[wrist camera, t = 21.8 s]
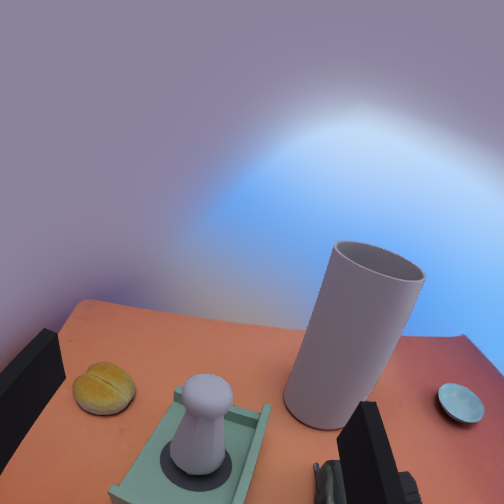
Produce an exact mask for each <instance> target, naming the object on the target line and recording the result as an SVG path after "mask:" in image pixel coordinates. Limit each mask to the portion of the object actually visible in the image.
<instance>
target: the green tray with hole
mask: <svg viewBox="0 0 504 504" xmlns="http://www.w3.org/2000/svg"><path fill="white" fill-rule="evenodd" d="M182 388H183V387H180V386H177V388H176V389H175V391H174V401H173V403H172V404H171V406H170V407H169V409H168V411H167V412H166V414H165V415H164V417H163V418H162V420H161V421H160V423H159V425H158V426H157V428H156V429H155V431H154V432H153V434H152V436H151V437H150V439H149V440H148V442H147V443H146V445H145V446H144V448H143V449H142V451H141V453H140V454H139V456H138V457H137V459H136V460H135V462H134V463H133V465H132V466H131V468H130V470H129V471H128V473H127V474H126V476H125V477H124V479H123V480H122V482H121V483H120V485H119V486H117V485H115V484H112V485H111V487H110V488H109V490H108V494H109V496H110V498H111V500H112V503H113V504H244V500H245V497H246V494H247V491H248V488H249V484H250V481H251V478H252V475H253V471H254V468H255V465H256V461H257V458H258V454H259V451H260V447H261V444H262V440H263V437H264V433H265V429H266V426H267V422H268V418H269V415H270V411H271V407H272V405H268V404H265V403H264V405H263V407H262V410H261V413H258V412H254V411H251V410H247V409H244V408H241V407H238V406H234V405H231V406H230V408H229V410H228V412H227V413H226V414H225V415H224V439H225V458H224V460H223V462H222V464H221V466H220V467H219V468H218V469H216V470H215V471H213V472H212V473H210V474H207V475H188V474H187V473H186V472H185V471H184V470H182V469H181V468H179V467H178V466H176V464H175V463H174V461H173V459H172V458H171V456H170V443H171V441H172V439H173V437H174V435H175V433H176V430H177V428H178V426H179V424H180V422H181V419H182V417H183V415H184V413H185V410H186V408H185V407H184V405H183V403H182Z"/></svg>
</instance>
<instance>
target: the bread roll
mask: <svg viewBox="0 0 504 504" xmlns="http://www.w3.org/2000/svg"><path fill="white" fill-rule="evenodd" d="M134 393H135V385H134V382H133V380H132V379H131V377H130V376H129V375H128V374H127V373H126V372H125V371H124V370H123V369H122V368H120V367H118V366H117V365H114V364H112V363H107V362H101V363H96V364H93V365H91V366H90V367H89V368H88V370H87V371H86V374H85V375H82V376H79V377H78V378H76V380H75V381H74V383H73V394H74V397H75V399H76V401H77V402H78V404H79V405H80V406H81V407H82V408H83V409H84V410H86V411H88V412H90V413H94V414H98V415H110V414H116V413H118V412H120V411H121V410H123V409H124V408H125V407H126V406H127V405H128V403H129V401H130V400H132V398H133V396H134Z"/></svg>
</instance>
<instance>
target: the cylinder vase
mask: <svg viewBox="0 0 504 504" xmlns="http://www.w3.org/2000/svg"><path fill="white" fill-rule="evenodd" d="M425 279H426V275H425V273H424V272H423V270H422V269H421V268H419V267H418V266H417V265H415V264H414V263H412V262H411V261H409V260H407V259H405V258H404V257H402V256H400V255H398V254H395V253H393V252H390V251H388V250H385V249H383V248H380V247H377V246H373V245H370V244H366V243H361V242H355V241H338V242H336V243H335V244H334V247H333V250H332V253H331V257H330V260H329V264H328V266H327V270H326V273H325V276H324V279H323V282H322V286H321V289H320V292H319V295H318V298H317V301H316V304H315V307H314V310H313V313H312V316H311V319H310V321H309V325H308V327H307V330H306V333H305V336H304V339H303V341H302V344H301V347H300V350H299V352H298V355H297V358H296V360H295V363H294V366H293V368H292V371H291V374H290V376H289V379H288V381H287V384H286V387H285V390H284V400H285V403H286V405H287V407H288V409H289V410H290V412H291V413H292V414H293V415H294V416H295V417H296V418H297V419H298V420H300V421H301V422H303V423H305V424H307V425H309V426H312V427H315V428H319V429H326V430H331V429H338V428H342V427H344V426H345V425H346V423H347V422H348V420H349V419H350V417H351V415H352V414H353V412H354V411H355V409H356V407H357V406H358V404H359V402H360V401H366V399H367V398H368V396H369V394H370V393H371V391H372V389H373V387H374V386H375V384H376V382H377V380H378V379H379V377H380V375H381V373H382V371H383V369H384V368H385V366H386V364H387V362H388V360H389V358H390V356H391V354H392V352H393V350H394V348H395V346H396V344H397V342H398V340H399V338H400V336H401V334H402V332H403V330H404V327H405V325H406V324H407V321H408V319H409V317H410V315H411V313H412V310H413V308H414V306H415V303H416V301H417V299H418V296H419V294H420V291H421V289H422V287H423V284H424V282H425Z"/></svg>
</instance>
